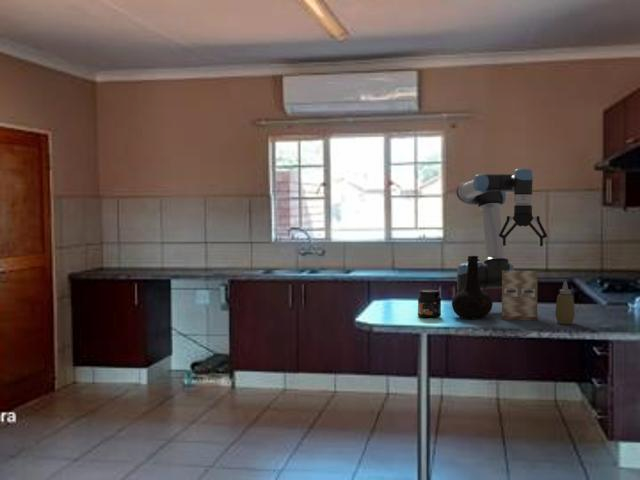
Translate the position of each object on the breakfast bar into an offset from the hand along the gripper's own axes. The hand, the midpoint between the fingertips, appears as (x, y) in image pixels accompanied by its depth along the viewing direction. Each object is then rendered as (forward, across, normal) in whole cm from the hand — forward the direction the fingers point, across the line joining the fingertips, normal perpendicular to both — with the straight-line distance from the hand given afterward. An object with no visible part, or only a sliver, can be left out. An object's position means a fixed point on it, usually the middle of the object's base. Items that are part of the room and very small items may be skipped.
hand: (522, 253), depth 328 cm
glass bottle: (+30, -22, +4) cm, 37 cm away
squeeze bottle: (+29, +18, -4) cm, 35 cm away
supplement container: (+30, -40, +2) cm, 50 cm away
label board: (+29, -1, +5) cm, 30 cm away
